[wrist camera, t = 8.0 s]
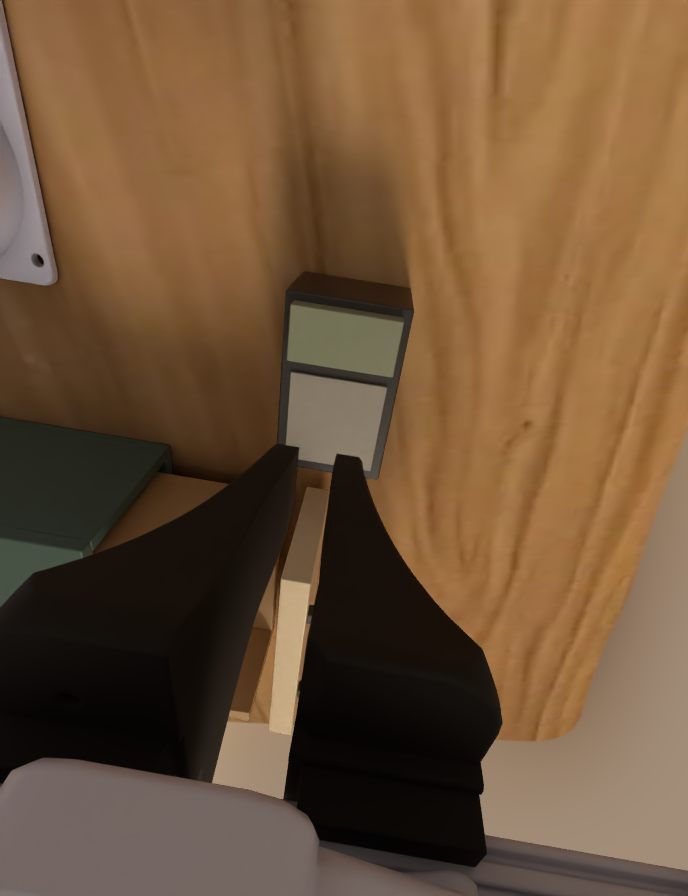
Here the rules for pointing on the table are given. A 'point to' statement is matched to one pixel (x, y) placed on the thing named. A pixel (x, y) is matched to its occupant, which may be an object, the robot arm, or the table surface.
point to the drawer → (296, 599)
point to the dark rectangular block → (341, 368)
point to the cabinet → (64, 493)
